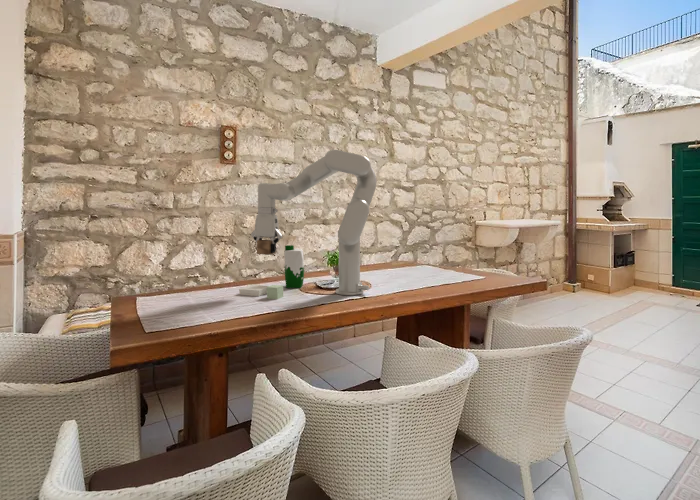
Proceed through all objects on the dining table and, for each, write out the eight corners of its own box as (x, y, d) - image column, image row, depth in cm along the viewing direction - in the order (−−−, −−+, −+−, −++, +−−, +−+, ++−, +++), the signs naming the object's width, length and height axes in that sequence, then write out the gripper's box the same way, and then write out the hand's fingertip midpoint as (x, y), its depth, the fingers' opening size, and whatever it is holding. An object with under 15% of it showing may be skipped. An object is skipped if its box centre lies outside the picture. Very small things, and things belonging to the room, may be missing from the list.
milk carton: (287, 284, 202) (286, 244, 200) (305, 284, 202) (304, 244, 200) (283, 288, 194) (282, 246, 191) (302, 288, 193) (302, 246, 191)
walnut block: (275, 253, 183) (275, 240, 183) (268, 254, 178) (268, 241, 177) (264, 252, 185) (264, 239, 185) (256, 253, 180) (256, 240, 179)
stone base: (270, 291, 186) (270, 286, 186) (259, 296, 177) (258, 290, 177) (252, 290, 190) (251, 284, 189) (239, 294, 180) (239, 289, 180)
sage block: (283, 296, 176) (283, 285, 175) (277, 299, 171) (277, 287, 171) (273, 296, 178) (272, 284, 177) (267, 298, 173) (266, 287, 172)
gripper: (288, 212, 180) (287, 252, 182) (254, 211, 186) (254, 250, 188) (279, 212, 173) (279, 254, 175) (244, 211, 179) (244, 251, 181)
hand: (266, 251), depth 182 cm, fingers closed on walnut block, 6 cm apart
